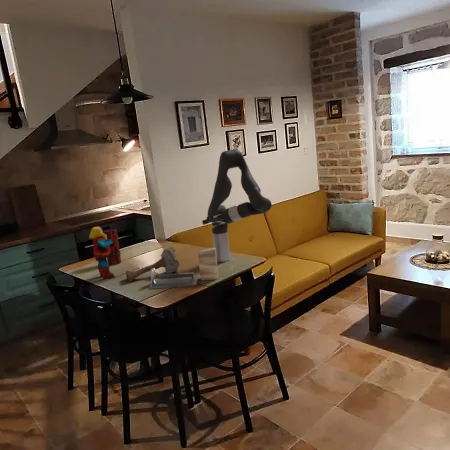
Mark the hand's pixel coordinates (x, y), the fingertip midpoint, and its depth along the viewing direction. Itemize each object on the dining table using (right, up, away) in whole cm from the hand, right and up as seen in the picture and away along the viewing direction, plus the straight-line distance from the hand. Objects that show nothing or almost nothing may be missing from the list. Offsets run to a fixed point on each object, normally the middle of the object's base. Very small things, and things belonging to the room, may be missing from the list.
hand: (207, 223), depth 211 cm
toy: (-57, -31, +22) cm, 69 cm away
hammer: (-31, -30, +18) cm, 46 cm away
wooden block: (+1, -29, +4) cm, 29 cm away
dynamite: (-62, -25, +49) cm, 83 cm away
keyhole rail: (-17, -31, +3) cm, 36 cm away
